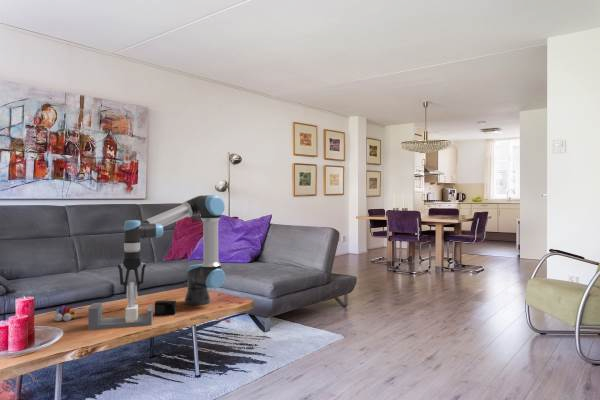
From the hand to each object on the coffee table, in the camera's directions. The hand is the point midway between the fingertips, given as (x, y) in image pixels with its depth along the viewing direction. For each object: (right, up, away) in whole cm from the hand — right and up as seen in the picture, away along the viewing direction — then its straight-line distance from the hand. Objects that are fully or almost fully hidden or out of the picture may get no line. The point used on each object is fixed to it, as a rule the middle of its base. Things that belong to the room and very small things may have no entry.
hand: (132, 298), depth 205 cm
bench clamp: (-4, -13, -1) cm, 13 cm away
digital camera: (+11, -13, +16) cm, 24 cm away
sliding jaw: (0, -10, 0) cm, 10 cm away
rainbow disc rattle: (-37, -13, +7) cm, 40 cm away
